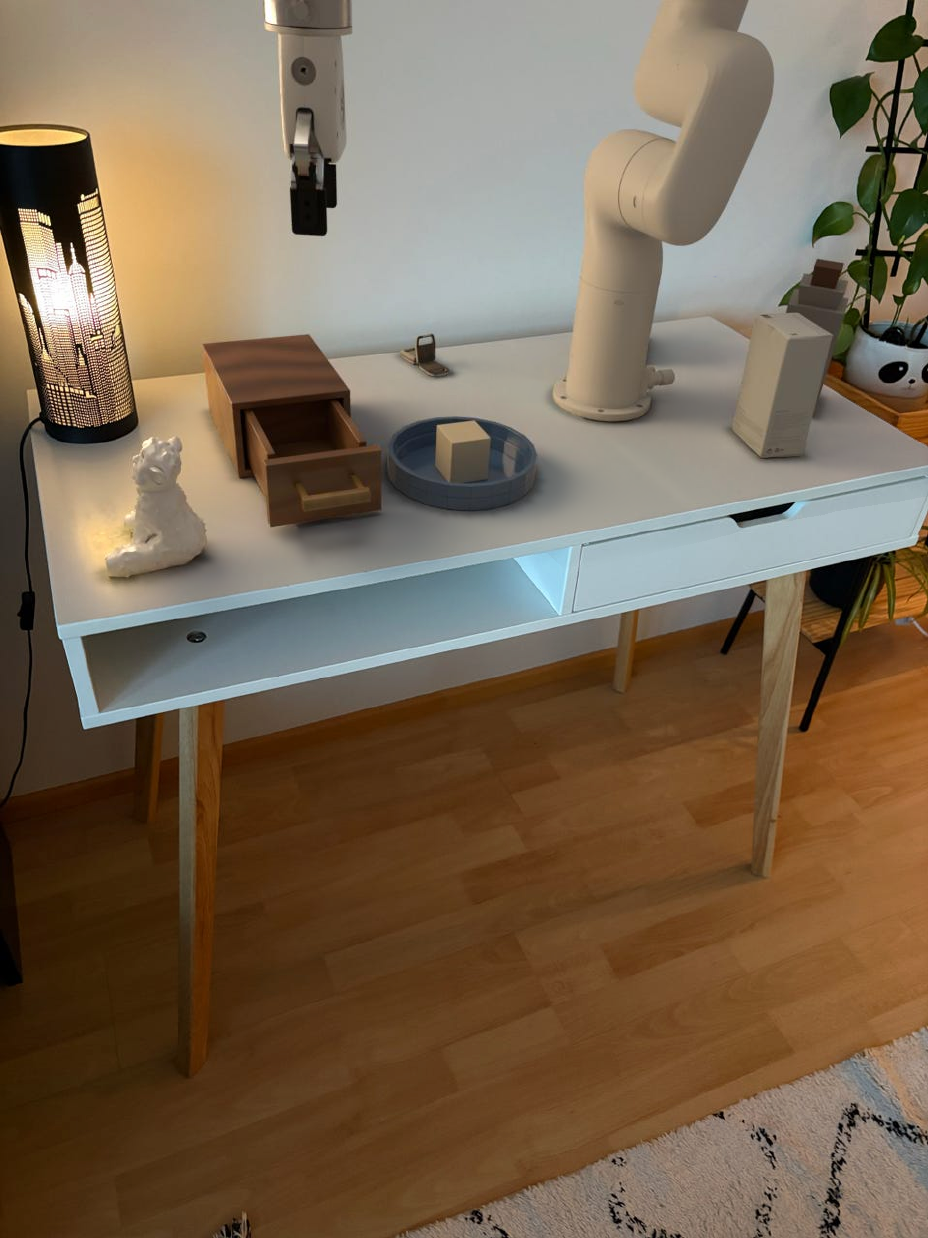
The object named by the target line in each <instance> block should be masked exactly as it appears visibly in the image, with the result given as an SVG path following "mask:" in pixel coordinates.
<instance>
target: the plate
mask: <svg viewBox="0 0 928 1238" xmlns="http://www.w3.org/2000/svg"><path fill="white" fill-rule="evenodd" d="M466 421H476V423H477V424H478V425H479V426H480V427H481V428H482V429H483V430H484V431H485V432H486V433H487V435H488V436H489V437H490V438H491V442H490V454H489V466H488V478H487V479H485V480H478V481H472V482H465V483H453V482H447V481H446V479H445V478H444V477H443V475H442V474H441V473H440V472H439V470H438V469H437V468H436V466H435V456H436V434H437V425H443V424H451V423H458V422H466ZM386 455H387V461H386V463H387V465H386V467H387V469H386V470H387V478H388V479H389V481H390V483H391V484H392V485H393V487H394V488H395V489H396V490H398V491H399V492H401V493H402V494H403V495H404V496H406V497H407V498H409V499H411V500H413V501H417V502H418V503H422V504H424V505H426V506H432V507H436V508H440V509H444V510H445V509H446V510H455V511H456V510H457V511H481V510H490V509H496V508H500V507H503V506H507V505H510V504H513V503H514V502H516V501H518V500H520V499H522V498H524V497H525V496H526V494H527V493H529V492H530V490H531V489H532V488H533V486H534V481H535V478H536V468H537V461H538V453H537V450H536V447H535V445H534V443H533V442H532V441H531V440H530V439H529V438H528V437H527V436H526V435H525V434H523V433H521V432H519V431H518V430H516V429H514V428H513V427H511V426H508V425H505V424H503V423H500V422H497V421H493V420H489V419H483V418H477V417H471V416H435V417H432V418H426V419H421V420H417V421H414V422H412V423H409V424H407V425H404V426H402V427H400V429H399V430H397V431H396V432H395V433H394V434H392V435H391V437H390V439H389V440H388V443H387V454H386Z"/></svg>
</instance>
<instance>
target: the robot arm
mask: <svg viewBox="0 0 928 1238" xmlns="http://www.w3.org/2000/svg"><path fill="white" fill-rule="evenodd" d="M749 1H750V0H661V3H660V6H659V7H658V11H657V14H656V16H655V18H654V21H653V24H652V27H651V29H650V32H649V35H648V37H647V40H646V43H645V45H644V48H643V51H642V53H641V56H640V58H639V62H638V65H637V67H636V71H635V74H634V77H633V87H632V88H633V89H632V90H633V97H634V100H635V103H636V105H637V106H638V108H639V109H640V110H642V112H643V113H644V114H646V115H647V116H649V117H651V118H652V119H655V120H657V121H659V122H662V123H665V124H668V125H671V126H673V127H677V128H680V130H679V133H678V136H677V139H676V141H675V140H673V139H671V138H668V137H665V136H662V135H659V134H655V133H653V132H649V131H646V130H641V129H633V128H631V129H630V128H628V129H627V128H625V129H620V130H617V131H615V132H612V133H610V134H609V135H607V136H605V137H604V138H603V139H602V140H600V141H599V142H598V144H597V145H596V146H595V147H594V148H593V150H592V152H591V154H590V156H589V158H588V161H587V162H586V166H585V171H584V177H583V208H584V209H583V210H584V237H583V239H584V240H583V251H582V259H581V268H580V273H579V274H580V275H579V280H578V281H579V282H578V290H577V297H576V305H575V312H574V320H573V327H572V328H573V329H572V336H571V344H570V349H569V350H570V352H569V357H568V358H569V359H568V367H567V372H566V373H567V374H566V376H565V377H563V378H560V379H559V380H558V381H557V382H555V384H554V386H553V388H552V399H553V401H554V403H555V404H556V405H557V406H558V407H560V408H561V409H562V410H564V411H566V412H568V413H570V414H573V415H575V416H578V417H580V418H584V419H588V420H593V421H602V422H625V421H630V420H634V419H637V418H640V417H642V416H643V415H646V413H648V411H649V410H650V407H651V402H652V401H651V400H652V398H651V395H650V393H649V392H648V391H649V390H652V389H653V388H654V386H655V387H656V386H668V385H673V384H674V382H675V379H676V375H675V372H674V370H673V369H661V370H660V369H659V370H657V371H656V367H655V365H654V364H648V365H646V363H647V362H646V360H647V355H648V351H649V350H648V349H649V344H650V338H651V333H652V329H653V323H654V316H655V311H656V305H657V300H658V295H659V289H660V285H661V279H662V275H663V274H662V273H663V264H664V248H663V243H666V244H668V245H671V246H677V247H684V246H685V247H686V246H689V245H693V244H695V243H698V242H699V241H701V240H702V239H703V238H704V237H706V236H707V235H708V234H709V233H710V232H711V231H712V230H713V228H714V227H715V226H716V225H717V223H718V222H719V220H720V218H721V217H722V215H723V213H724V211H725V210H726V208H727V205H728V204H729V202H730V199H731V197H732V195H733V192H734V190H735V188H736V186H737V184H738V182H739V179H740V177H741V174H742V172H743V170H744V168H745V166H746V163H747V161H748V159H749V157H750V155H751V152H752V150H753V148H754V147H755V146H754V145H755V143H756V141H757V139H758V136H759V134H760V132H761V130H762V127H763V126H764V125H763V124H764V122H765V120H766V117H767V115H768V112H769V109H770V106H771V102H772V100H773V94H774V85H775V68H774V62H773V58H772V55H771V54H770V52H769V49H768V48H767V47H766V45H764V43H763V42H762V41H761V40H759V39H758V38H756V37H754V36H753V35H750V34H747V33H745V32H741V31H739V28H740V26H741V23H742V20H743V17H744V14H745V12H746V9H747V6H748V3H749ZM262 5H263V20H264V22H263V23H264V30H266V31H268V32H272V33H277V43H278V46H277V48H278V49H277V50H278V71H279V73H278V74H279V96H280V113H281V116H280V117H281V129H282V142H283V149H284V155H285V157H287V158H288V160H290V162H291V166H290V187H289V199H290V200H289V202H290V218H291V219H290V222H291V232H292V233H293V234H294V235H295V236H311V237H312V236H313V237H325V236H326V235H327V233H328V209H335V208H336V207H337V205H338V187H337V186H338V185H337V183H338V182H337V164H336V163H338V162H339V161H340V160H341V158H342V155H343V154H344V152H345V148H346V145H347V122H346V98H345V97H346V96H345V95H346V94H345V69H344V68H345V67H344V51H343V43H342V42H343V41H342V36H347V35H349V36H350V35H352V34H353V0H262Z"/></svg>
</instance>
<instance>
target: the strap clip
mask: <svg viewBox="0 0 928 1238" xmlns="http://www.w3.org/2000/svg"><path fill="white" fill-rule="evenodd" d="M425 338H430V342H428V343H424V344H420V340H421V339H425ZM400 357H402V359H403V360H404V361H406V362H409V363H410V364H411V365H419V369H420V370H421V371H422V372H423V373H425V374H426V375H428V376H432V377H438V376H441V375H442V376H443V375H447V374H449V373H450V369H449V368H448V367H447V366H445V365H443V364H442V363H439V362H438V361H435V360H436V338H435V334H433V333H428V334H427V333H426V334H423V335H418V336H416V338H415V343H414V347H409V348H404V349H401V350H400Z"/></svg>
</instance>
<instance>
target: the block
mask: <svg viewBox="0 0 928 1238" xmlns="http://www.w3.org/2000/svg"><path fill="white" fill-rule="evenodd" d="M490 442H491V438H490V437H489V436H488V435H487V433H486V432H485V431H484V430H483V429H482V428H481V427H480V426H479V425H478V424H477V423H476V421H466V422H458V423H451V424H443V425H437V434H436V456H435V466H436V468H437V469H438V470H439V472H440V473H441V474H442V475H443V477H444V478H445V479H446V481H447V482H453V483H465V482H472V481H478V480H485V479H487V478H488V466H489V454H490Z"/></svg>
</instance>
